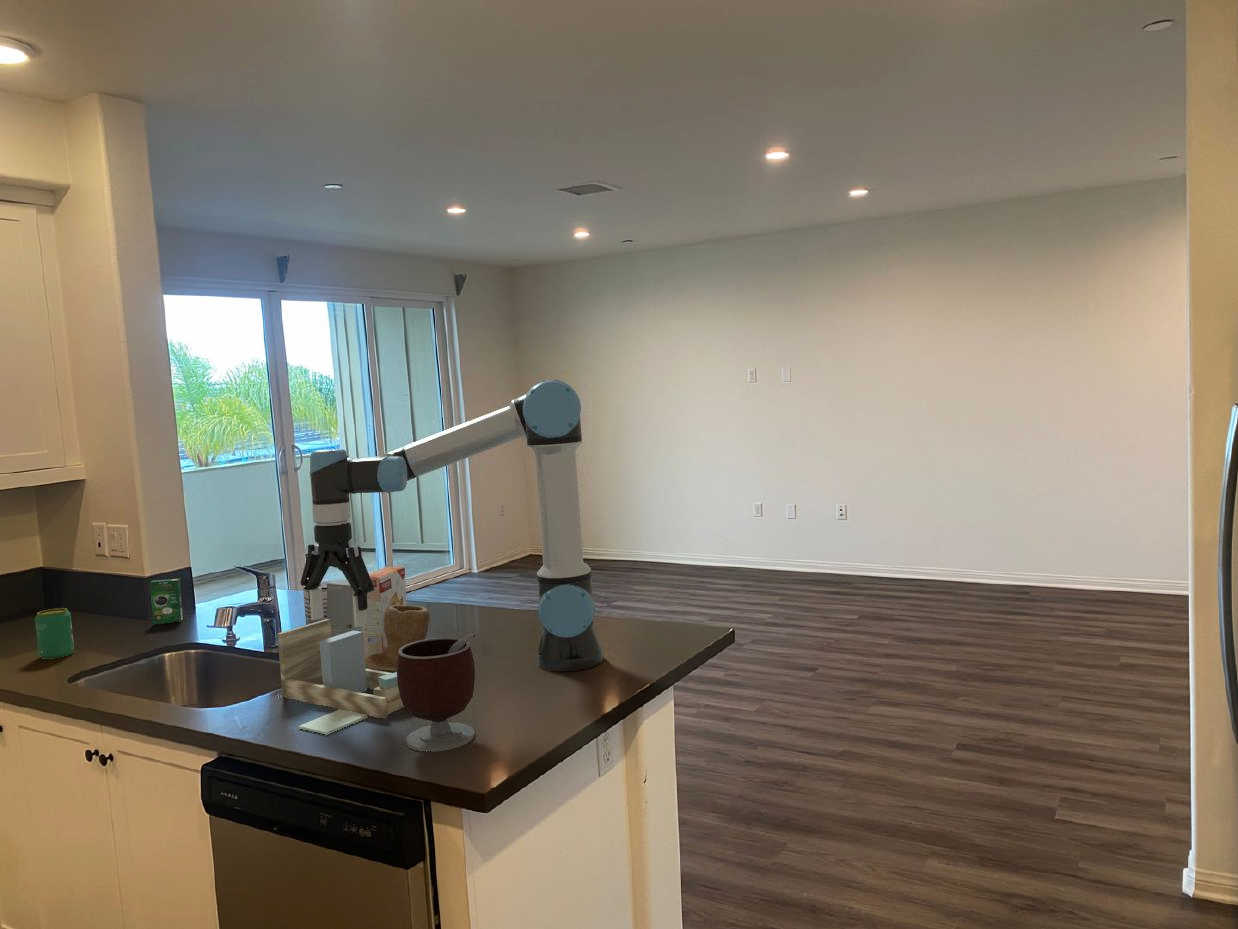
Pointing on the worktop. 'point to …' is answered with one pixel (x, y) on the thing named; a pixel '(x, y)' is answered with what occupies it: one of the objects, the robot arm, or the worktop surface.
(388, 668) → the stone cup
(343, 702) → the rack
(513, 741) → the worktop surface
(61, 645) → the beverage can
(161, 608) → the coffee box
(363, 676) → the tall white upright block
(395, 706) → the offcut oak
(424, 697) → the mate gourd
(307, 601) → the can
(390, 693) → the offcut pine
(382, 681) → the offcut teal
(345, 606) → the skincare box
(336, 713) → the pad
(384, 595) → the cracker box
